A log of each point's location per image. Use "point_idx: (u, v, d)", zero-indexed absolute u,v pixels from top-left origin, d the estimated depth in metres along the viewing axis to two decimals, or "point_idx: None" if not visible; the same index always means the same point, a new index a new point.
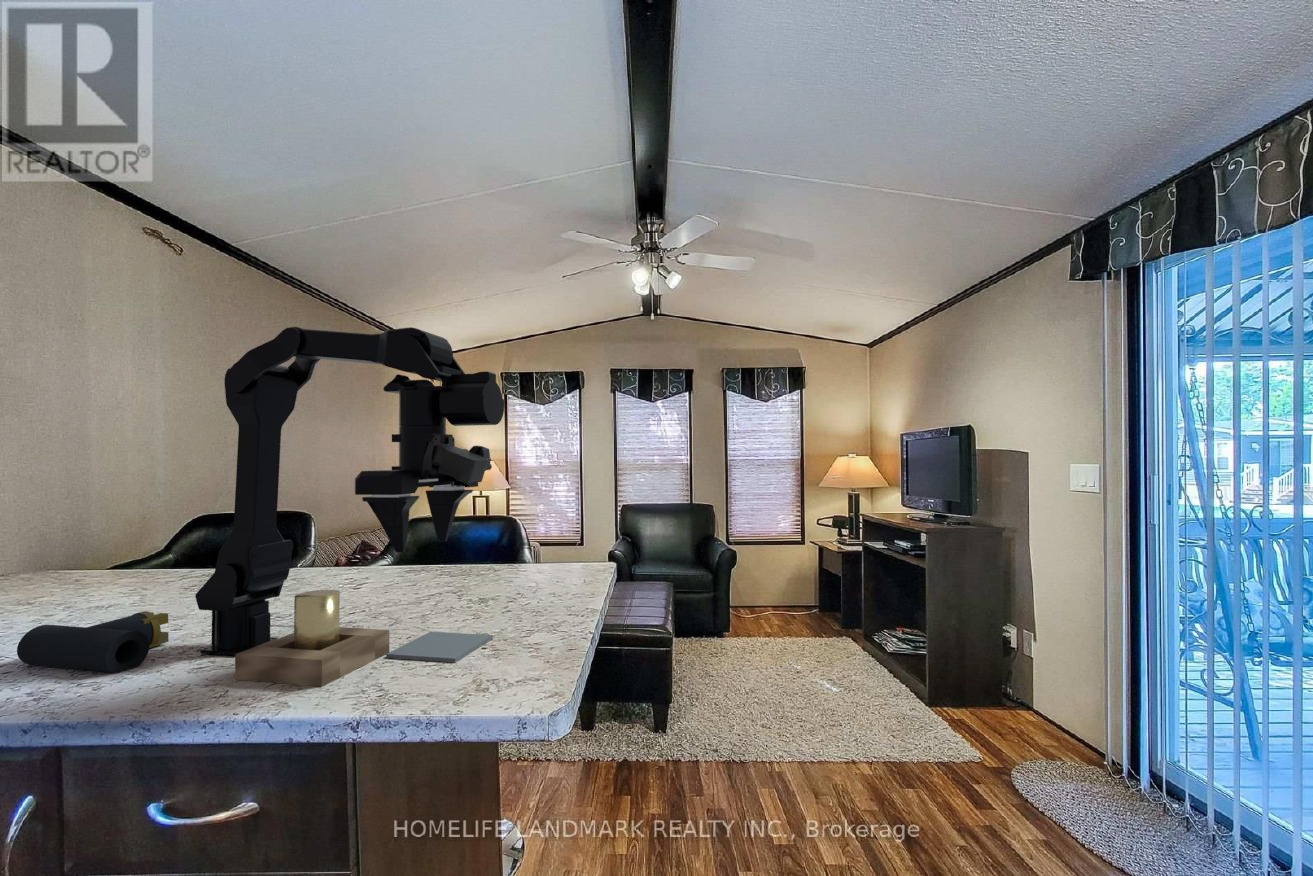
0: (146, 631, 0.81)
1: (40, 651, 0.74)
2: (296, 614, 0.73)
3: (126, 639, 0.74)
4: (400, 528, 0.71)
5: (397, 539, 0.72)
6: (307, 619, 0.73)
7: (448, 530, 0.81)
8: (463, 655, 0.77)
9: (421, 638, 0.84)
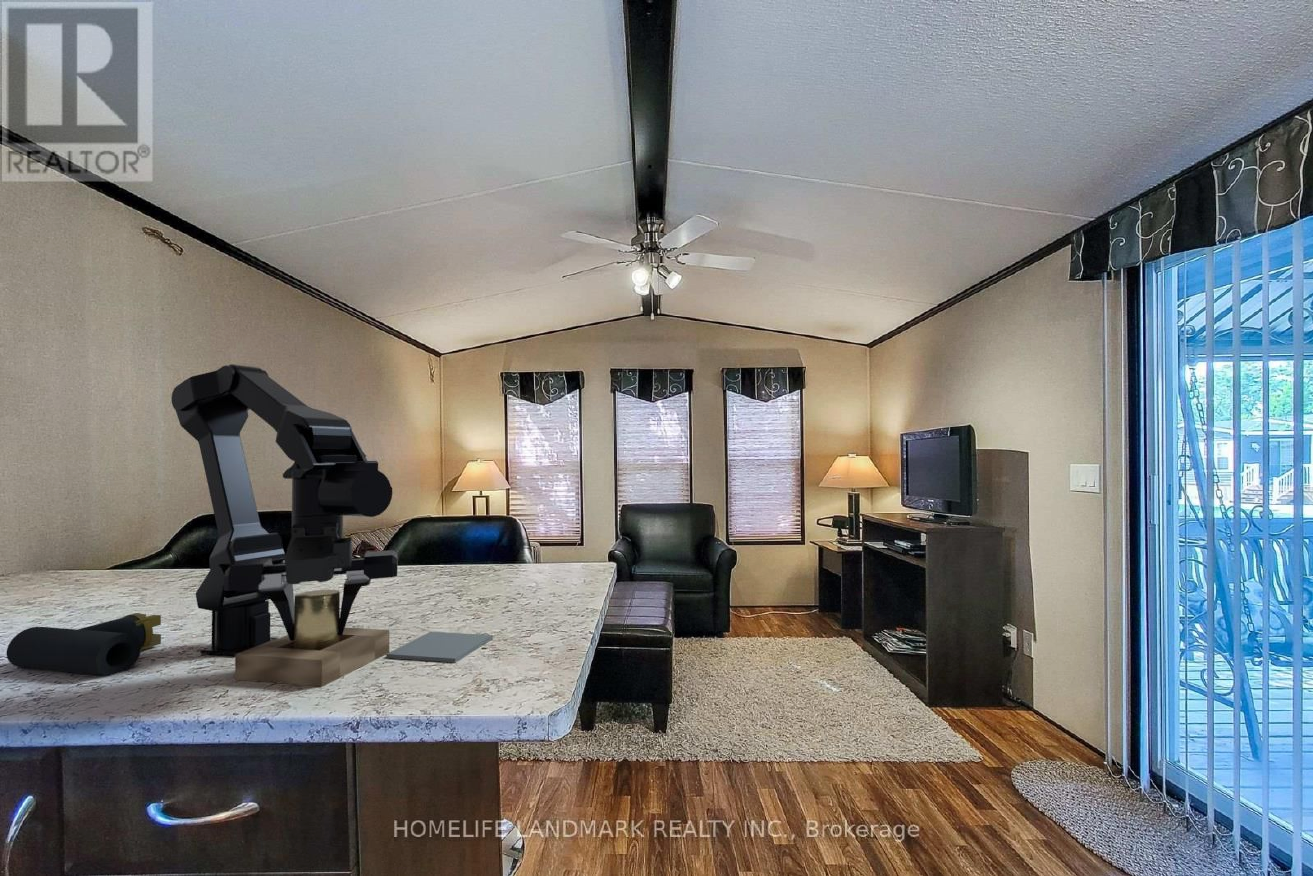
0: (138, 633, 0.80)
1: (30, 653, 0.73)
2: (296, 614, 0.73)
3: (117, 641, 0.73)
4: None
5: None
6: (307, 619, 0.73)
7: (341, 624, 0.76)
8: (463, 655, 0.77)
9: (421, 638, 0.84)
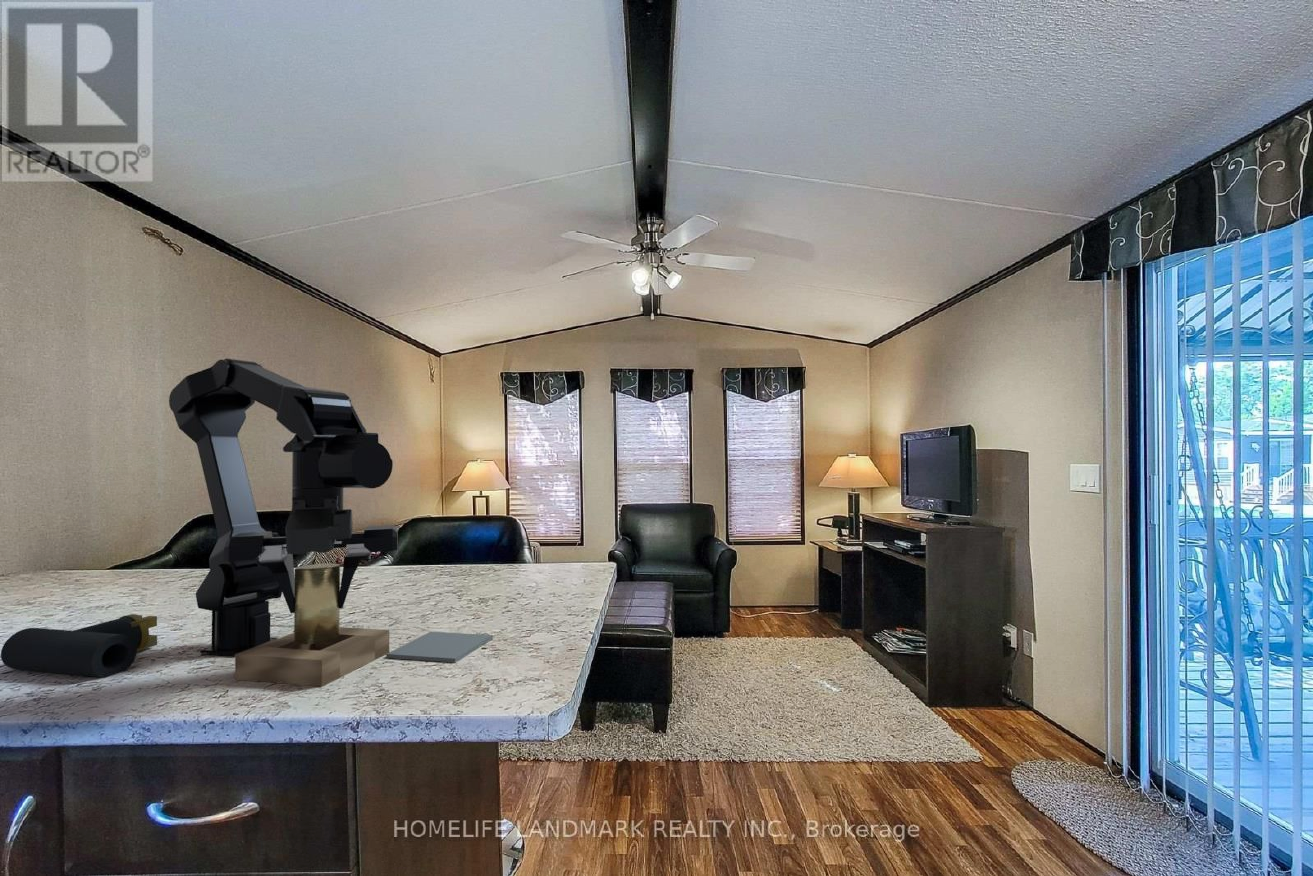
0: (134, 634, 0.79)
1: (25, 655, 0.73)
2: (296, 586, 0.73)
3: (113, 643, 0.72)
4: None
5: None
6: (307, 591, 0.73)
7: (342, 597, 0.76)
8: (463, 655, 0.77)
9: (421, 638, 0.84)
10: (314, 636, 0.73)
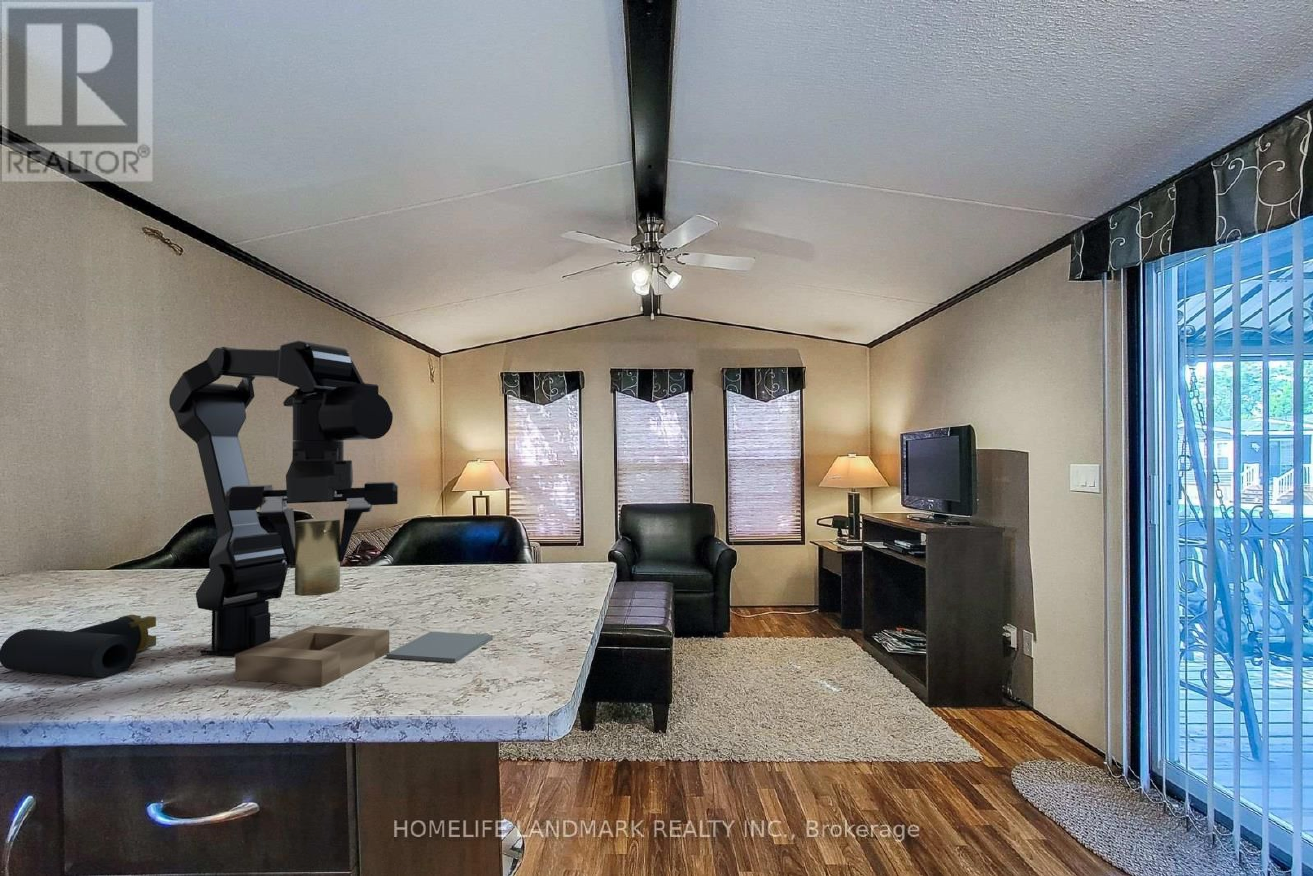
0: (133, 634, 0.79)
1: (23, 656, 0.72)
2: (297, 538, 0.73)
3: (113, 643, 0.72)
4: (284, 542, 0.73)
5: None
6: (308, 542, 0.73)
7: (342, 551, 0.76)
8: (463, 655, 0.77)
9: (421, 638, 0.84)
10: (315, 587, 0.73)
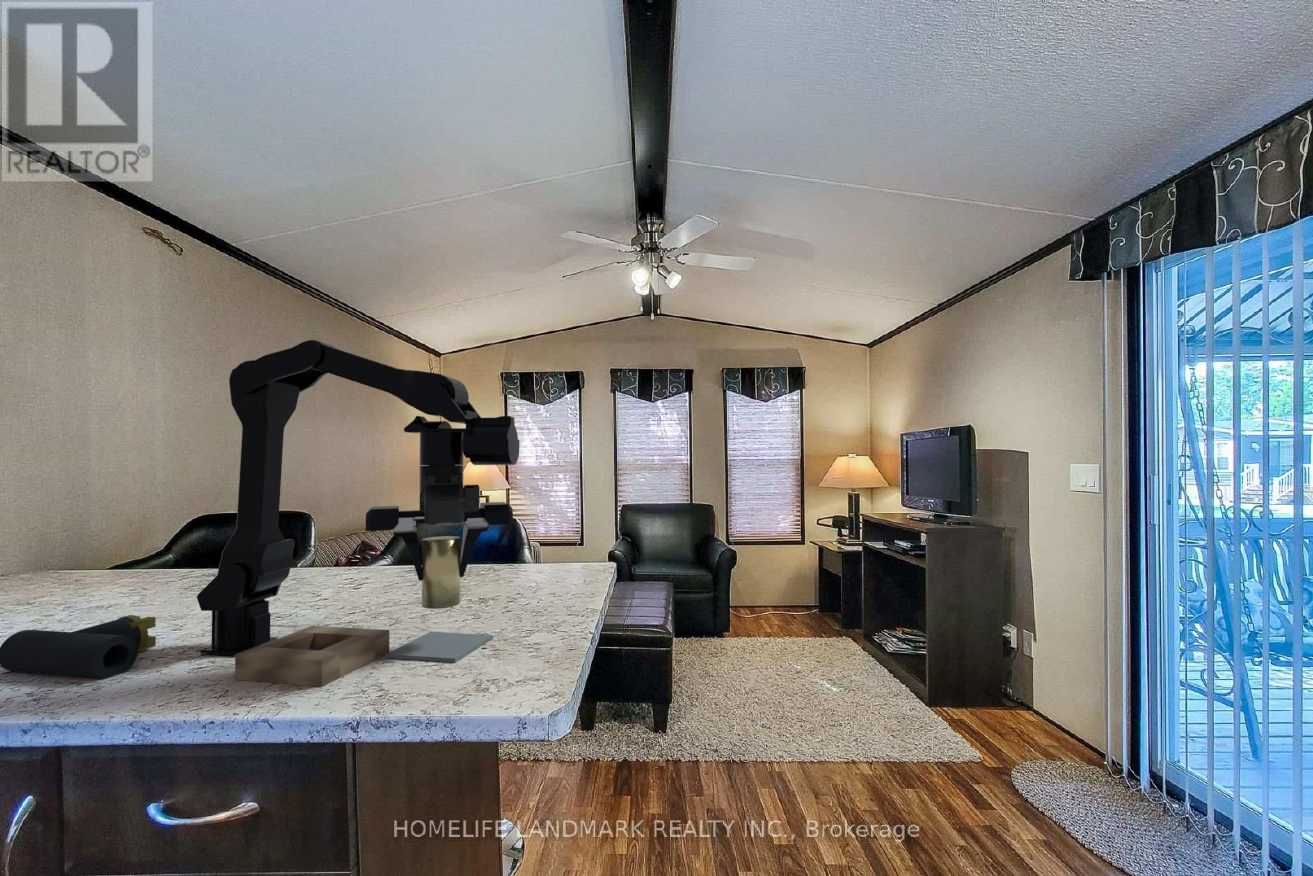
0: (133, 635, 0.79)
1: (22, 657, 0.72)
2: (425, 555, 0.80)
3: (114, 644, 0.72)
4: (413, 559, 0.80)
5: None
6: (436, 559, 0.79)
7: (463, 567, 0.82)
8: (463, 655, 0.77)
9: (421, 638, 0.84)
10: (442, 601, 0.79)
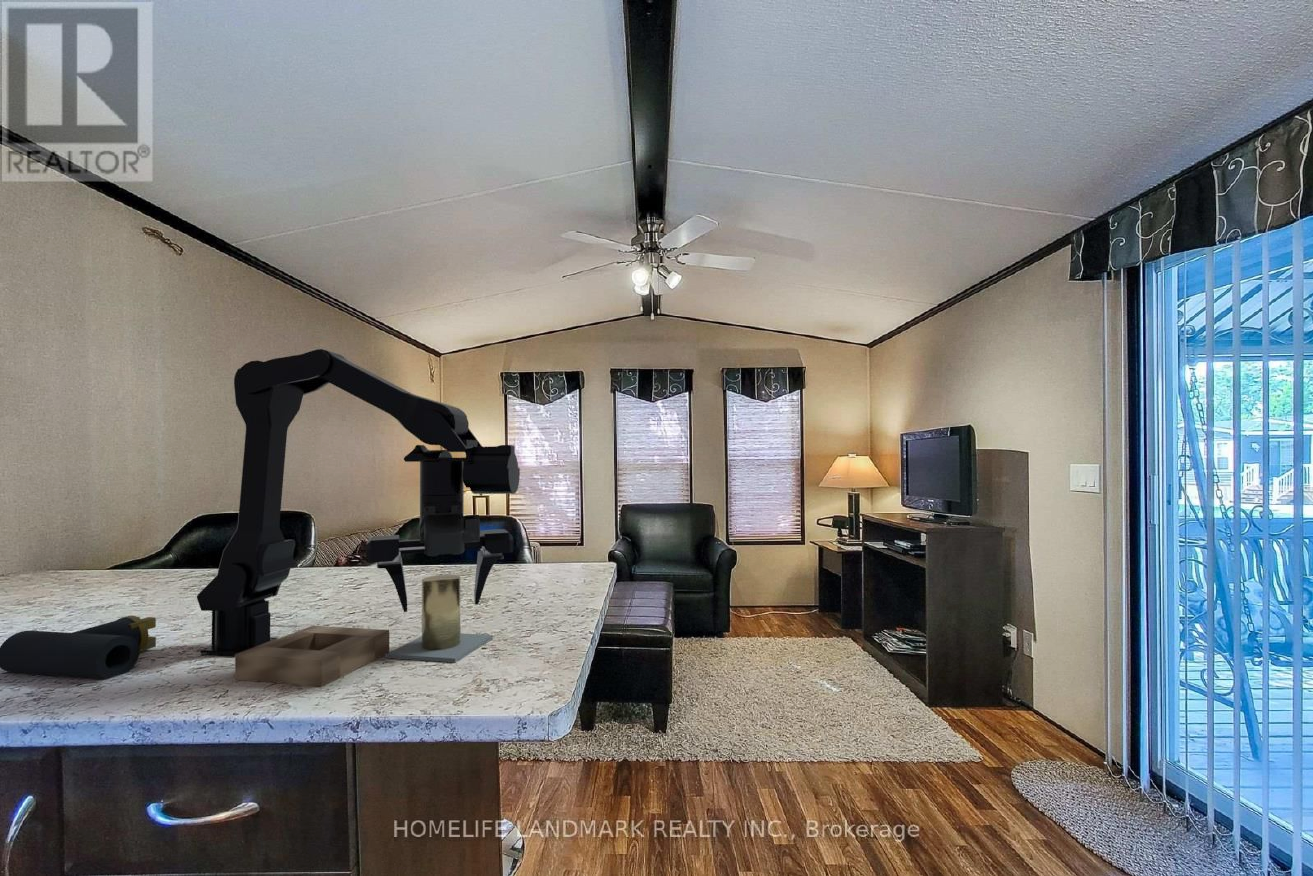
0: (133, 635, 0.79)
1: (23, 658, 0.72)
2: (425, 597, 0.79)
3: (116, 644, 0.72)
4: (398, 590, 0.79)
5: None
6: (435, 601, 0.79)
7: (478, 594, 0.83)
8: (463, 655, 0.77)
9: (421, 638, 0.84)
10: (442, 642, 0.79)
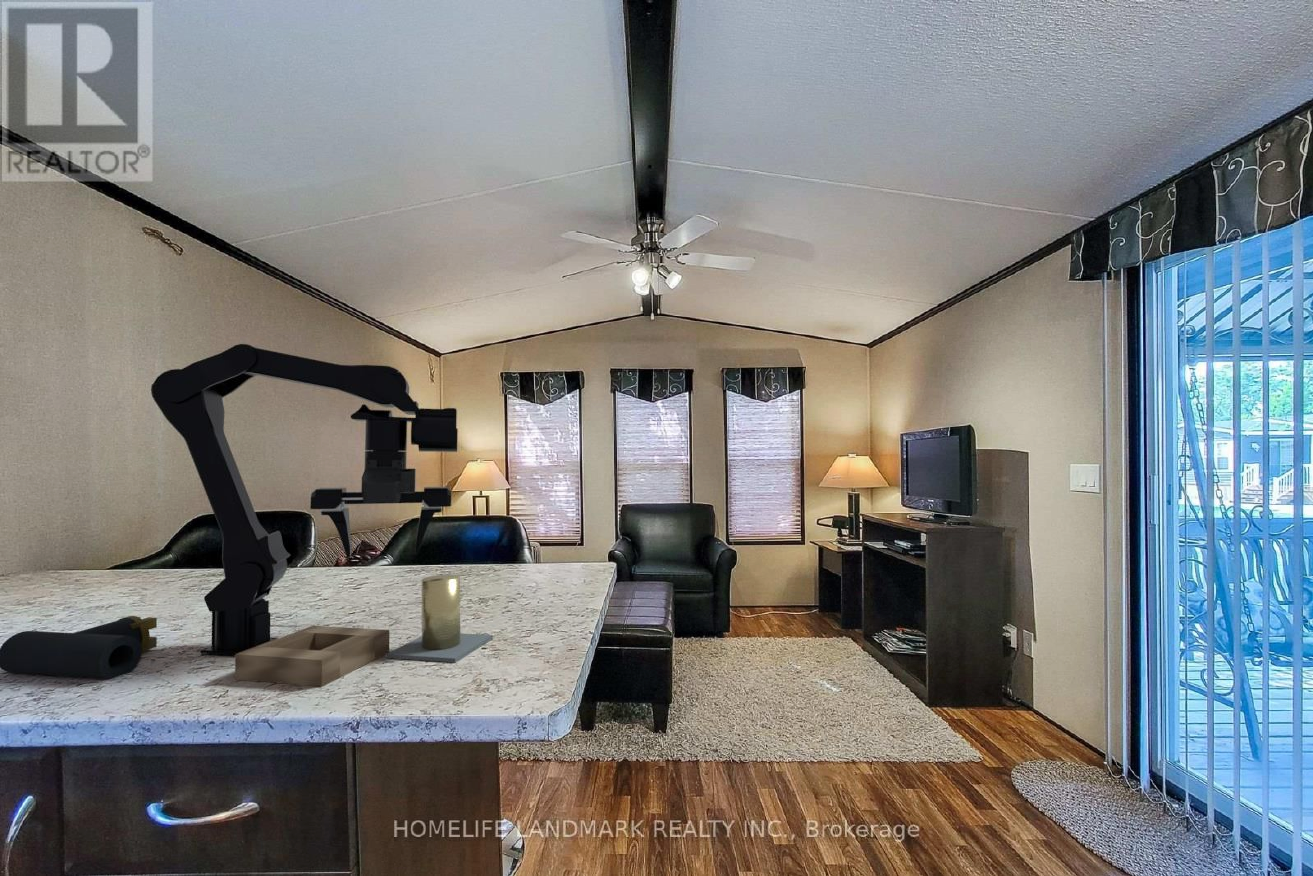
0: (134, 636, 0.79)
1: (24, 658, 0.72)
2: (425, 596, 0.79)
3: (119, 644, 0.72)
4: (341, 537, 0.86)
5: None
6: (435, 600, 0.79)
7: (417, 545, 0.89)
8: (463, 655, 0.77)
9: (421, 638, 0.84)
10: (442, 642, 0.79)
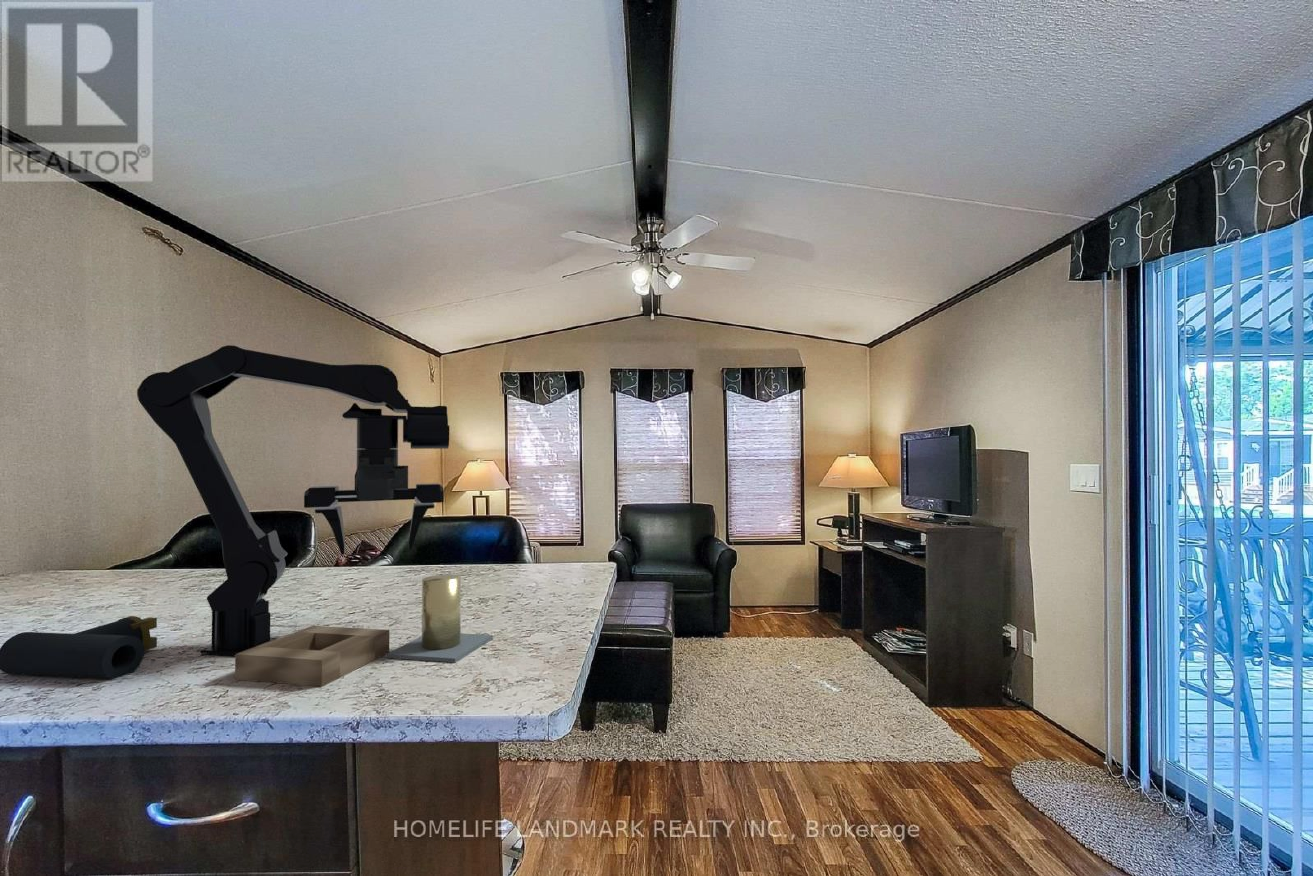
0: (135, 636, 0.79)
1: (24, 659, 0.71)
2: (425, 596, 0.80)
3: (122, 644, 0.72)
4: (335, 534, 0.87)
5: (338, 543, 0.87)
6: (436, 600, 0.79)
7: (411, 541, 0.91)
8: (463, 655, 0.77)
9: (421, 638, 0.84)
10: (442, 641, 0.79)
